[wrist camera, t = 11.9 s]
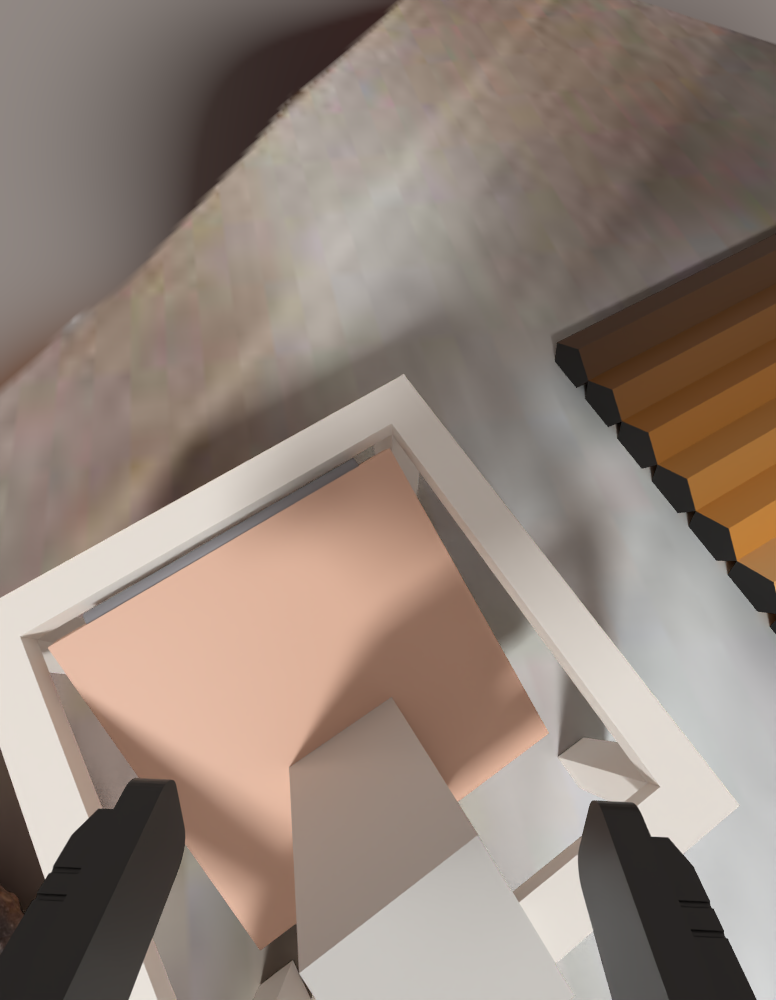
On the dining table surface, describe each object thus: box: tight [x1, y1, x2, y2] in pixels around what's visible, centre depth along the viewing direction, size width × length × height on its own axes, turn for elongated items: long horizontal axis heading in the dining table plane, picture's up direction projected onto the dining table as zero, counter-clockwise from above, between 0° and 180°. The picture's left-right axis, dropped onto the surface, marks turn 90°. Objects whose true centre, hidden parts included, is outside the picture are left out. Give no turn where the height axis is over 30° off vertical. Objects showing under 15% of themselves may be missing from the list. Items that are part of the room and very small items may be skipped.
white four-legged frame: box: [0, 374, 740, 1000], centre depth 24 cm, size 20×20×12 cm
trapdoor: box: [48, 448, 549, 950], centre depth 23 cm, size 15×15×1 cm
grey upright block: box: [289, 697, 575, 1000], centre depth 18 cm, size 5×5×10 cm
